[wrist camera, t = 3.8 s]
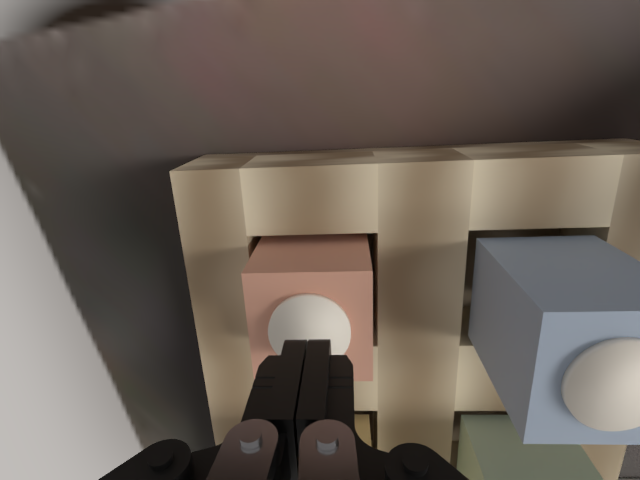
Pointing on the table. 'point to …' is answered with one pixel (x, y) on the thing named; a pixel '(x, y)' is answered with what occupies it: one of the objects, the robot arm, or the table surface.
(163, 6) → the table surface
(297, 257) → the button
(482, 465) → the button
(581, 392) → the button
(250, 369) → the board
